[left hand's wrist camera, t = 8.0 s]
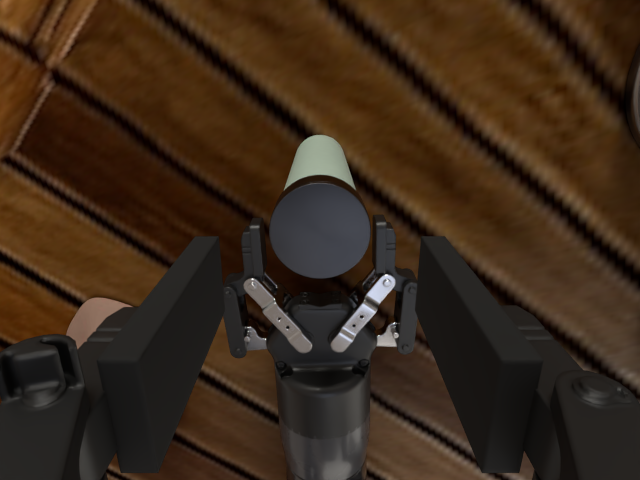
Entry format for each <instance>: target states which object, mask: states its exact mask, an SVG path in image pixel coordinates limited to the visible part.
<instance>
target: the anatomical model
mask: <svg viewBox="0 0 640 480" xmlns="http://www.w3.org/2000/svg"><path fill="white" fill-rule="evenodd" d="M123 307H132V306H130V305H127V304H124V303H121V302H118V301H115V300H111V299H107V298H92V299H89V300H87V301H86V302H85V303H84V304H83V305H82V306H81V307H80V309H79V310H78V312H77V313H76V315H75V317H74V318H73V320H72V322H71V324H70V326H69V328H68V331H67V334H66V336H70V337H71V338H72V339H74V340H75V341H76V345H77V350H78V348H79V347H80V346H81V345H82V344H83V343H84V342H87V338H88V337H89V336H90V335H91V334H92V333H93V332H94V331H96V328H97V327H98V326H99V325H100V324H101V323H102V322H103V321H104V320H105V318H106V317H108V316H109V315H111V314H113V313H114V312H116V311H118V310H119V309H121V308H123Z"/></svg>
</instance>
